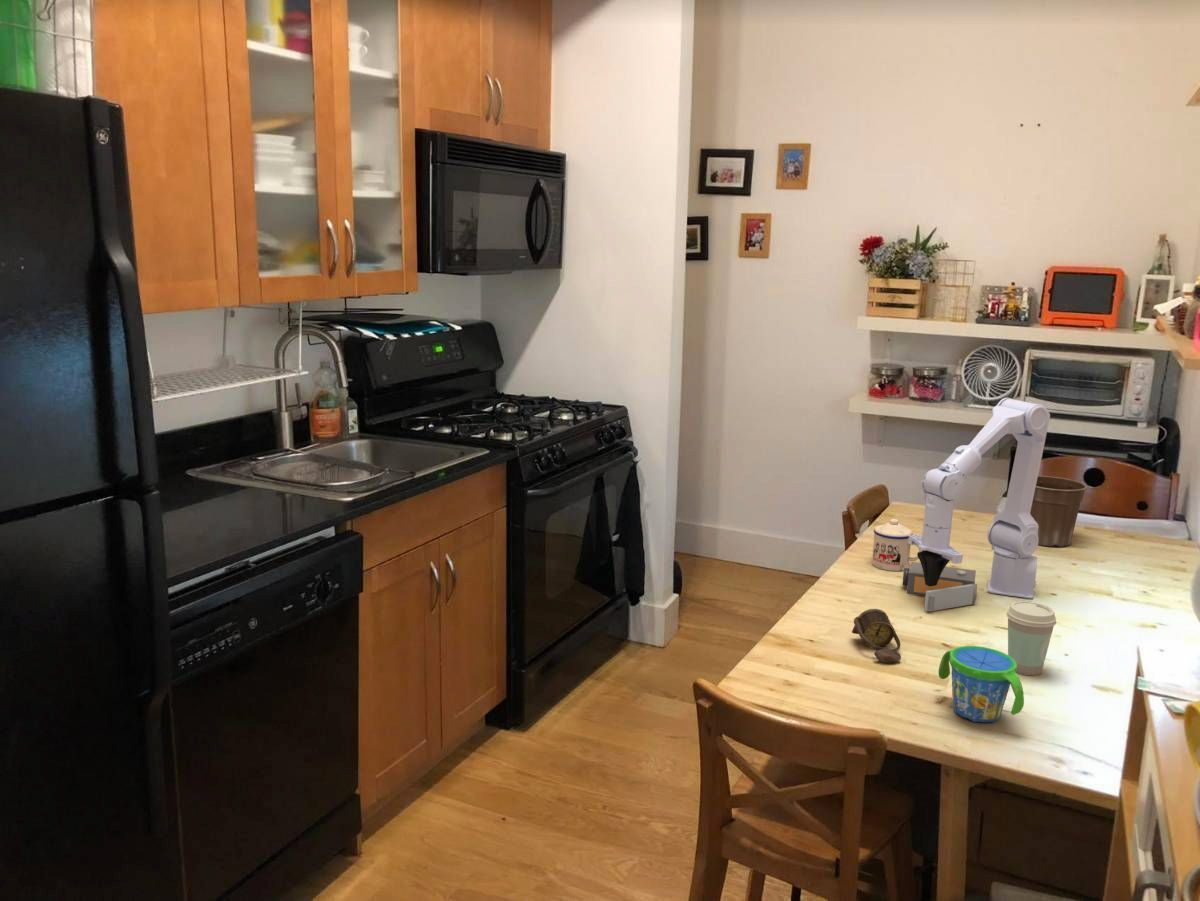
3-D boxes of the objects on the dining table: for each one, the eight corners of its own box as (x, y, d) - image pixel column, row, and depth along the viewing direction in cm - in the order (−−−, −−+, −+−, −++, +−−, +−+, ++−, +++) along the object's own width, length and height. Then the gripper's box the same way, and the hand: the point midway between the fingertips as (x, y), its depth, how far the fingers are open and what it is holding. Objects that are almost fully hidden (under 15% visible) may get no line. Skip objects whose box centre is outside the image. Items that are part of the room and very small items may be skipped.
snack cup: (1036, 729, 163) (1043, 672, 161) (987, 741, 159) (994, 682, 156) (966, 689, 177) (972, 636, 174) (920, 699, 172) (925, 644, 170)
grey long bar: (972, 602, 218) (974, 583, 217) (978, 604, 216) (980, 585, 216) (923, 610, 213) (925, 590, 212) (929, 613, 211) (931, 593, 210)
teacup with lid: (865, 566, 241) (869, 520, 238) (878, 557, 248) (882, 512, 246) (914, 577, 234) (918, 530, 231) (926, 567, 241) (931, 521, 239)
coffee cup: (1045, 683, 180) (1054, 621, 177) (996, 671, 184) (1003, 610, 182) (1052, 666, 187) (1060, 606, 184) (1005, 655, 191) (1012, 596, 189)
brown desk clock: (909, 615, 196) (859, 598, 198) (910, 634, 184) (857, 616, 186) (898, 649, 197) (848, 631, 200) (898, 669, 185) (845, 651, 188)
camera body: (973, 591, 226) (976, 568, 224) (972, 603, 218) (975, 579, 217) (904, 581, 231) (906, 558, 230) (900, 592, 224) (903, 569, 222)
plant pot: (1021, 528, 276) (1028, 471, 273) (1084, 539, 267) (1092, 481, 263) (1006, 541, 263) (1013, 482, 260) (1072, 554, 254) (1080, 493, 250)
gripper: (899, 517, 218) (894, 576, 221) (946, 536, 205) (939, 598, 208) (925, 514, 221) (919, 572, 224) (972, 533, 208) (965, 594, 211)
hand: (930, 584), depth 216 cm, fingers closed
